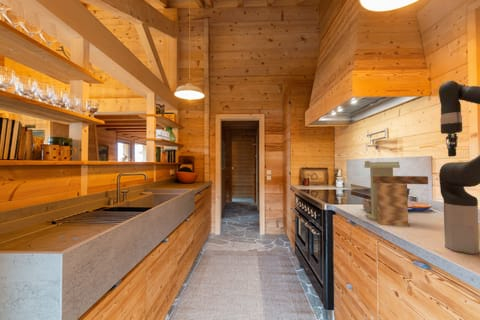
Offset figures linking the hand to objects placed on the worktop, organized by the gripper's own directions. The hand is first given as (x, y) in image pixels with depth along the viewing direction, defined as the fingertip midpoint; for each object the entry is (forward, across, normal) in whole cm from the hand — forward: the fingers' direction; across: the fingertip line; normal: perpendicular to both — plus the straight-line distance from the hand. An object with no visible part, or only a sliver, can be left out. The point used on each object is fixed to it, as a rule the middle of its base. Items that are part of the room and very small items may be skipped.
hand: (452, 156), depth 104 cm
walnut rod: (+14, +1, -21) cm, 25 cm away
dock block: (+36, +2, -24) cm, 44 cm away
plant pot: (+36, -34, -26) cm, 56 cm away
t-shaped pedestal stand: (+36, -6, -30) cm, 47 cm away
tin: (+36, -22, -40) cm, 58 cm away
